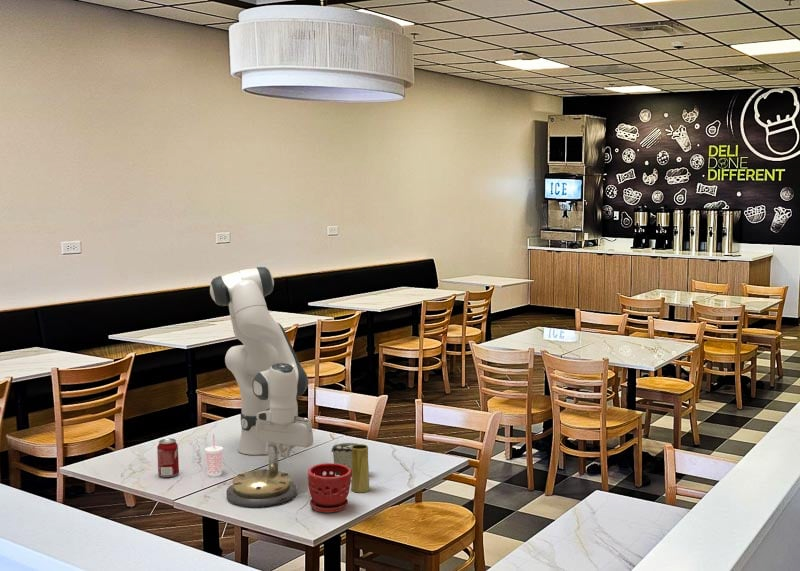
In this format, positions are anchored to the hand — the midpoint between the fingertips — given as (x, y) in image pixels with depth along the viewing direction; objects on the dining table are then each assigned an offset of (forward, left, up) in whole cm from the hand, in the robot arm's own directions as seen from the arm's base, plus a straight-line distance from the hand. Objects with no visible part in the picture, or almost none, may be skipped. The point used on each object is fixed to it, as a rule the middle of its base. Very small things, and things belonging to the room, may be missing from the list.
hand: (284, 457), depth 266 cm
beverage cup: (+6, -30, -11) cm, 33 cm away
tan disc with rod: (+8, -2, -9) cm, 12 cm away
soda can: (+17, -41, -11) cm, 46 cm away
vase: (-16, +18, -11) cm, 27 cm away
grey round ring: (+8, -2, -11) cm, 14 cm away
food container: (-25, +5, -11) cm, 28 cm away
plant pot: (+1, +22, -11) cm, 25 cm away
